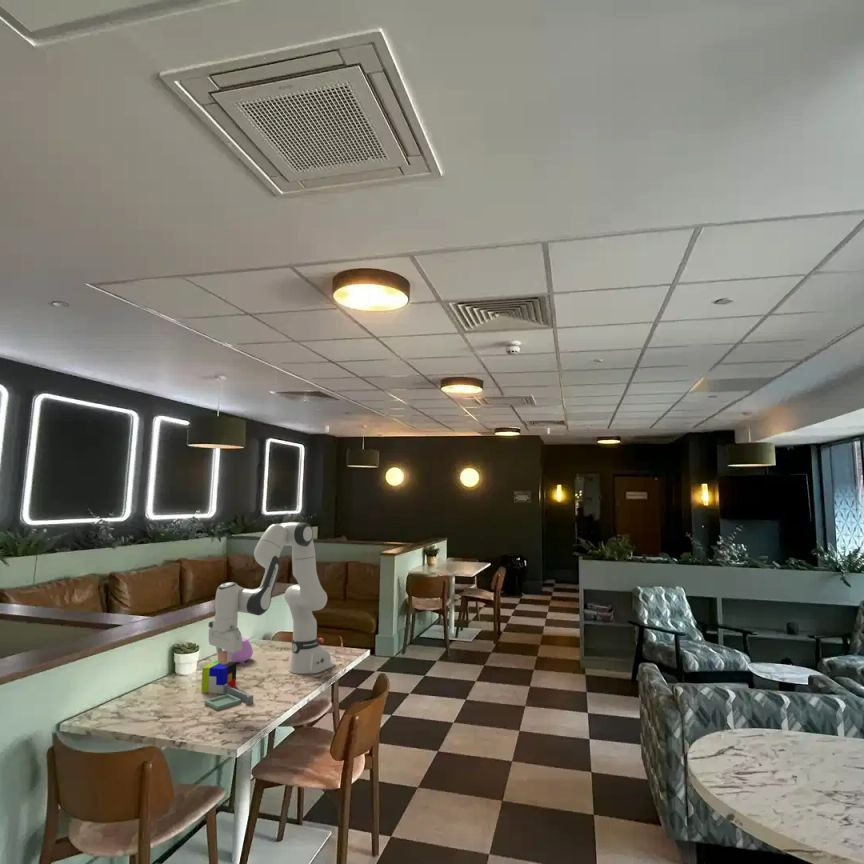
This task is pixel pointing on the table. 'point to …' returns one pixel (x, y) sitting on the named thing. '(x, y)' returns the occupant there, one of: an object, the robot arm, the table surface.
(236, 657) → the teapot
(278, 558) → the robot arm
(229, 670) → the puzzle toy
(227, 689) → the bar with end supports
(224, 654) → the ball
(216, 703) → the dish
